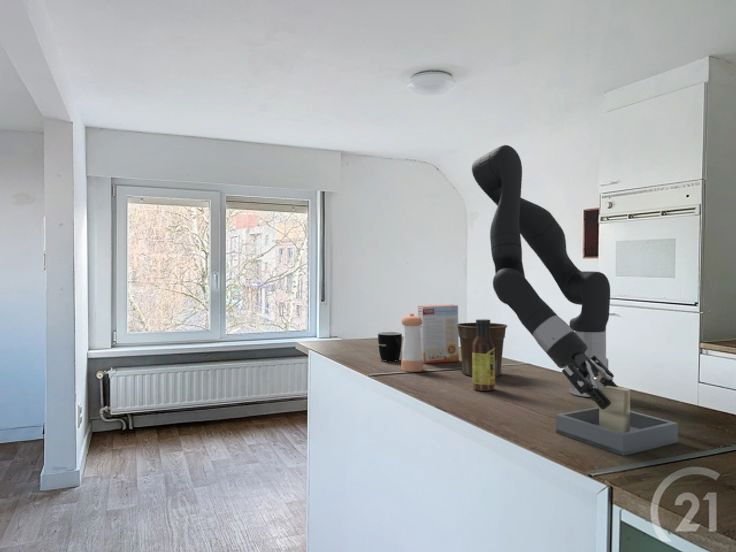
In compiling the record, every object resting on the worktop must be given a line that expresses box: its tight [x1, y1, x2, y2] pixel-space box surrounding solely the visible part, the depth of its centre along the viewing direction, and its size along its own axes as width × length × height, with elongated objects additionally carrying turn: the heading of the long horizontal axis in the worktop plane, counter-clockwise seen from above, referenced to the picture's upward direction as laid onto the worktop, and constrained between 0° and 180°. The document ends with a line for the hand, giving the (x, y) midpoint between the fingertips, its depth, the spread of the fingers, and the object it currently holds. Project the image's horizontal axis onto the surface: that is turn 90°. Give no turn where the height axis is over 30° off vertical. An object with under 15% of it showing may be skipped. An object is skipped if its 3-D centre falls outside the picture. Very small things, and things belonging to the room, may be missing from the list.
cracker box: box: [417, 303, 460, 364], centre depth 199 cm, size 14×6×21 cm, turn 105°
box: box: [555, 406, 679, 457], centre depth 109 cm, size 16×16×4 cm
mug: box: [377, 331, 403, 362], centre depth 202 cm, size 12×9×10 cm
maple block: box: [598, 386, 631, 433], centre depth 109 cm, size 4×4×9 cm
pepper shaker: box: [400, 313, 424, 373], centre depth 183 cm, size 7×7×19 cm
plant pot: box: [456, 322, 508, 377], centre depth 176 cm, size 16×16×16 cm
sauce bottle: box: [472, 318, 496, 392], centre depth 153 cm, size 7×6×20 cm
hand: (614, 402), depth 109 cm, fingers open, 8 cm apart
